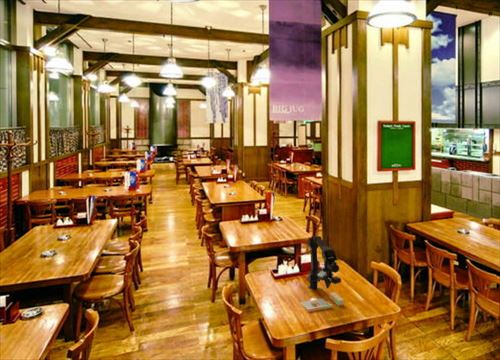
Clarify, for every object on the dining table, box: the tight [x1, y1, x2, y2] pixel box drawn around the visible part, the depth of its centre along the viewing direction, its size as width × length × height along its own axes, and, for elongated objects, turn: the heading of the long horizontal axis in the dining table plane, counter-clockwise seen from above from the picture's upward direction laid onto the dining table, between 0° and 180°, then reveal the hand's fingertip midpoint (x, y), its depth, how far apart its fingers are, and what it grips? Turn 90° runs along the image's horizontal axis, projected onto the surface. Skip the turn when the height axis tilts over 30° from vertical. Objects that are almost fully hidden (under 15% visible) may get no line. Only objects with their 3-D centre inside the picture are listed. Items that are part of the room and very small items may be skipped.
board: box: [299, 297, 333, 313], centre depth 243 cm, size 13×18×3 cm
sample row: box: [329, 291, 344, 307], centre depth 248 cm, size 11×5×5 cm, turn 18°
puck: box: [309, 297, 319, 305], centre depth 245 cm, size 5×5×2 cm
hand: (327, 288), depth 245 cm, fingers closed
